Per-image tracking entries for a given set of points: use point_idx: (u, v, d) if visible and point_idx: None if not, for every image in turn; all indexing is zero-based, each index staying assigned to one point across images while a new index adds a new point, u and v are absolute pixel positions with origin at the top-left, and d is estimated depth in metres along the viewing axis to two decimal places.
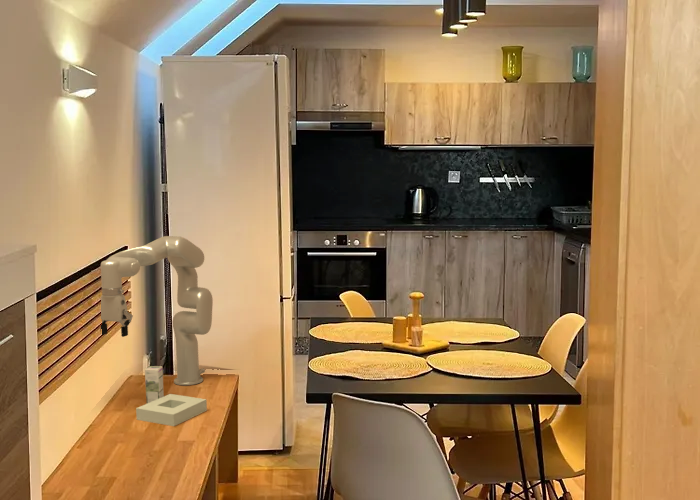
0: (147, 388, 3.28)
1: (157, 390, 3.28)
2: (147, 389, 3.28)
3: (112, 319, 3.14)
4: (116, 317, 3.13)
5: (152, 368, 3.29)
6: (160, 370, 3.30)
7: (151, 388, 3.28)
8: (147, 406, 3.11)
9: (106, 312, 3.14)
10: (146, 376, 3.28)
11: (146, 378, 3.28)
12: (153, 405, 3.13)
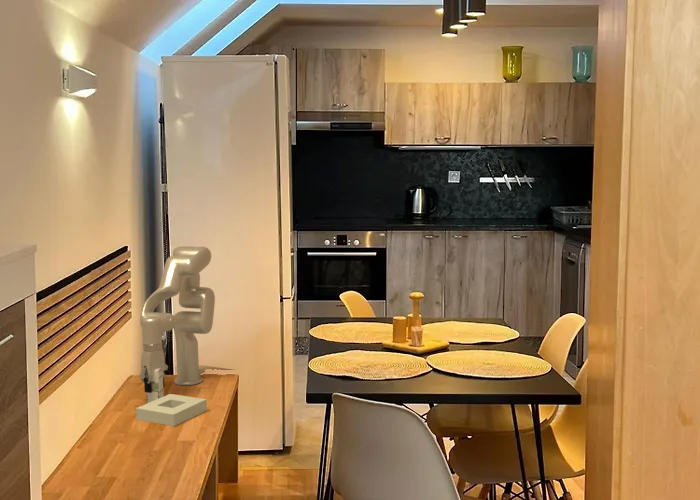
0: None
1: (157, 390, 3.28)
2: None
3: None
4: (162, 368, 3.32)
5: None
6: (160, 370, 3.30)
7: None
8: (147, 406, 3.11)
9: (155, 367, 3.27)
10: None
11: None
12: (153, 405, 3.13)
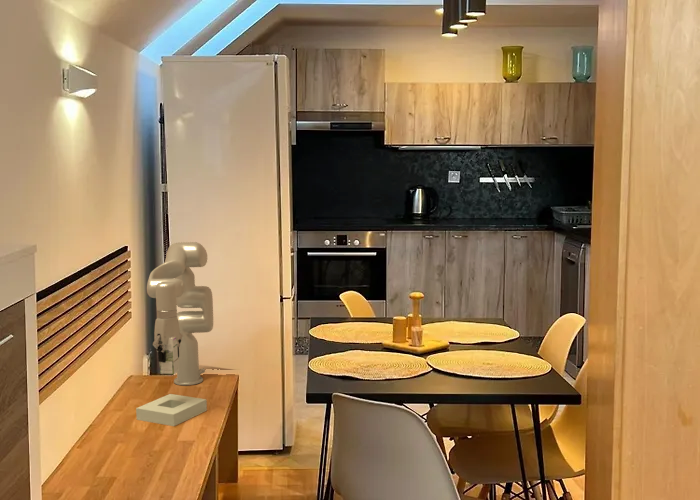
0: None
1: (171, 359, 3.10)
2: None
3: None
4: (177, 337, 3.14)
5: None
6: (175, 339, 3.12)
7: None
8: (147, 406, 3.11)
9: (170, 335, 3.09)
10: None
11: None
12: (153, 405, 3.13)
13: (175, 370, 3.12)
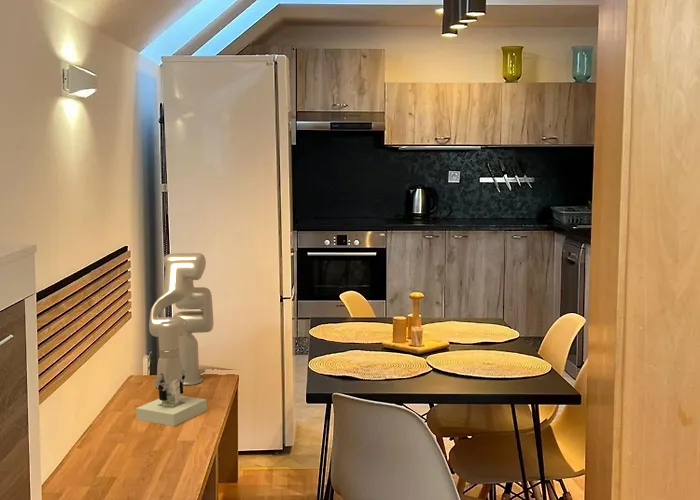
0: (163, 401, 3.12)
1: (174, 402, 3.11)
2: (163, 401, 3.12)
3: None
4: (180, 376, 3.15)
5: None
6: (177, 381, 3.13)
7: (168, 400, 3.12)
8: (147, 406, 3.11)
9: (172, 374, 3.11)
10: None
11: None
12: (153, 405, 3.13)
13: None
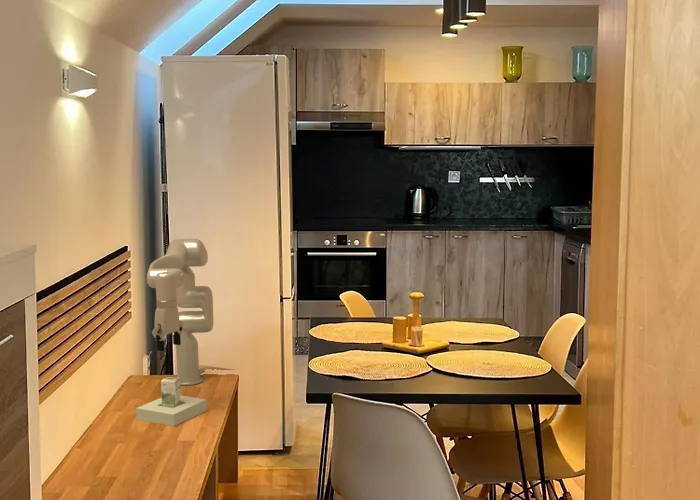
0: (163, 401, 3.12)
1: (174, 403, 3.11)
2: (163, 401, 3.12)
3: (174, 330, 3.13)
4: (177, 327, 3.14)
5: (169, 379, 3.12)
6: (177, 381, 3.13)
7: (168, 400, 3.12)
8: (147, 406, 3.11)
9: (170, 325, 3.10)
10: (162, 388, 3.11)
11: (162, 390, 3.11)
12: (153, 405, 3.13)
13: None
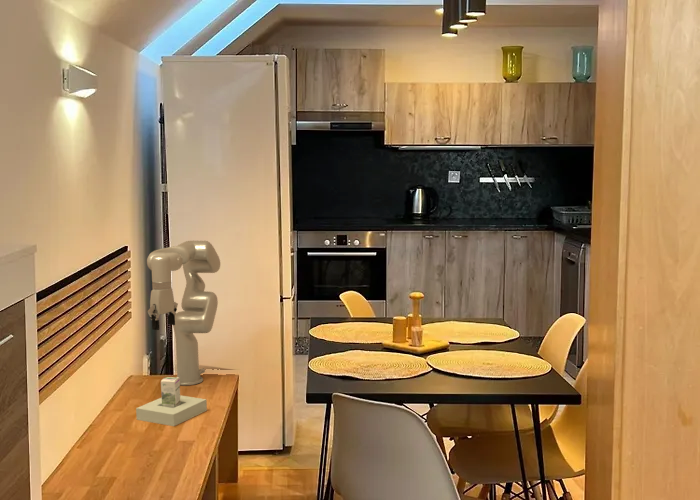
0: (163, 401, 3.12)
1: (174, 403, 3.11)
2: (163, 401, 3.12)
3: (168, 310, 3.31)
4: (172, 307, 3.32)
5: (168, 379, 3.12)
6: (177, 381, 3.13)
7: (168, 400, 3.12)
8: (147, 406, 3.11)
9: (164, 305, 3.28)
10: (162, 388, 3.11)
11: (162, 390, 3.11)
12: (153, 405, 3.13)
13: None
